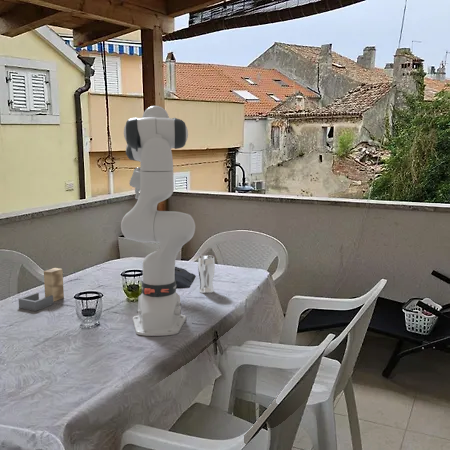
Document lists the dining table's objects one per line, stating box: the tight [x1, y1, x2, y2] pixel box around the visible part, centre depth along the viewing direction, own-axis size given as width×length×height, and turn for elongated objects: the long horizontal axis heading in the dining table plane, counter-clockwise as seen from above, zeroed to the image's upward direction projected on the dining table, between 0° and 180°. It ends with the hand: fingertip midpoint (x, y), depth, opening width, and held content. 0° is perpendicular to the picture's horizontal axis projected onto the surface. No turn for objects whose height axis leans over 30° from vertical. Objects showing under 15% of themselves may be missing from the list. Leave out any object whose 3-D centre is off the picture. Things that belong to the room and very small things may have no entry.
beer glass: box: [197, 254, 216, 294], centre depth 211 cm, size 7×7×15 cm
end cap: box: [18, 292, 54, 312], centre depth 192 cm, size 9×8×4 cm
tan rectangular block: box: [43, 267, 65, 303], centre depth 200 cm, size 6×4×12 cm, turn 154°
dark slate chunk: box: [175, 266, 197, 289], centre depth 228 cm, size 15×22×5 cm
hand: (145, 201), depth 226 cm, fingers open, 8 cm apart
